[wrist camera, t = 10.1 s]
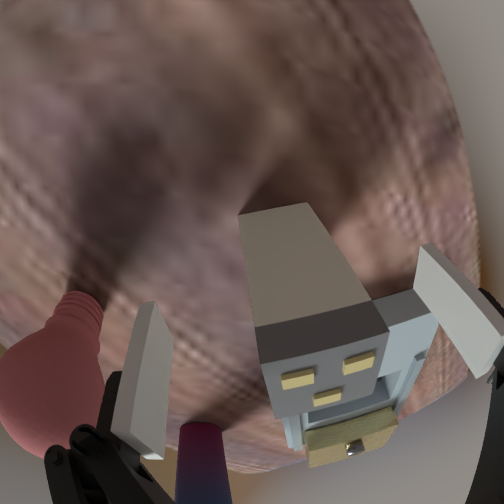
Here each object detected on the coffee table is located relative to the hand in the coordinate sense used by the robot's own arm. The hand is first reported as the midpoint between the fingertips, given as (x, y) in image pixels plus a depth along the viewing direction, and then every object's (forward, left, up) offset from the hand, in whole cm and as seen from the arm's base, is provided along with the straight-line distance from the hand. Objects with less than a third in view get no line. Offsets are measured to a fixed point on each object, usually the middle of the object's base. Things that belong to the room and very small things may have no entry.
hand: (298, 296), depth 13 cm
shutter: (+25, +5, -2) cm, 26 cm away
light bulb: (+2, -14, -5) cm, 15 cm away
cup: (+24, -12, -5) cm, 27 cm away
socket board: (+17, +5, -5) cm, 18 cm away
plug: (0, 0, -5) cm, 5 cm away
